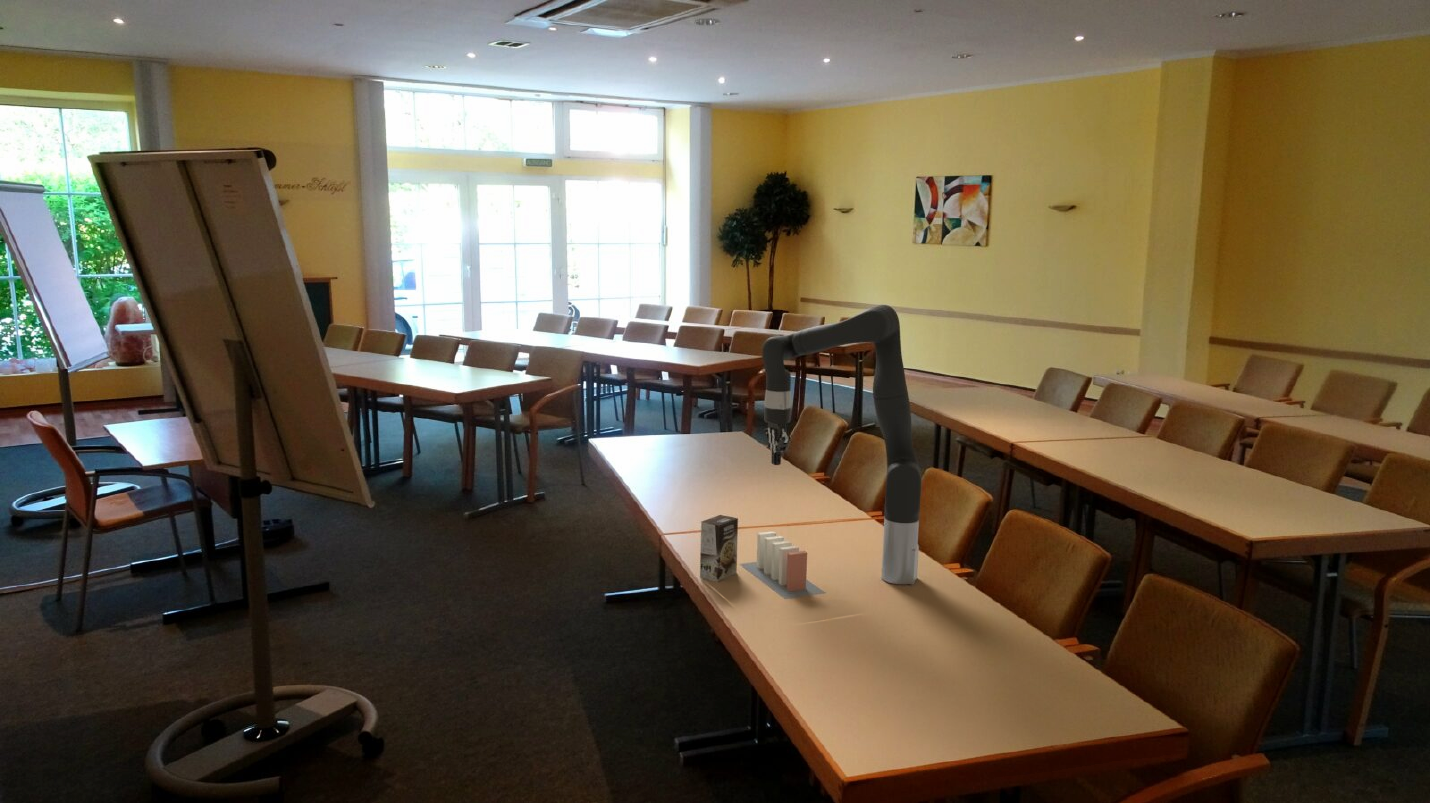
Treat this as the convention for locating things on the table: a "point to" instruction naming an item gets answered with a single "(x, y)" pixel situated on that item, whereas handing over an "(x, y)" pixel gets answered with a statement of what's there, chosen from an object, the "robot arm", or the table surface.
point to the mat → (775, 585)
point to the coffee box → (718, 547)
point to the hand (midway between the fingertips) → (776, 464)
